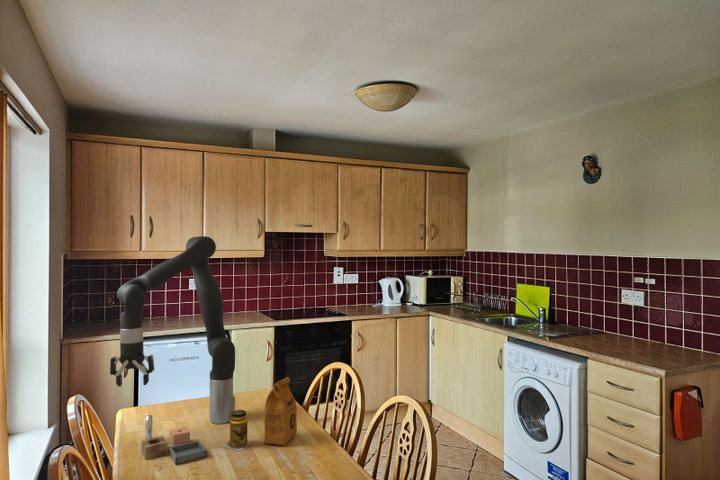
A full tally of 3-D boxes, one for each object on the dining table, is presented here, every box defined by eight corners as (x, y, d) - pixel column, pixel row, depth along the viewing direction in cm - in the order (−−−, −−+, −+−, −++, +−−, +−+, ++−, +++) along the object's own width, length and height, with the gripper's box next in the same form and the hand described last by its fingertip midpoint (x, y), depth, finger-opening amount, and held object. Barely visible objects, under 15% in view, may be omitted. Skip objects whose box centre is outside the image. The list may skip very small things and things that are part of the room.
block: (185, 440, 178) (185, 426, 178) (189, 445, 173) (189, 431, 173) (169, 443, 175) (170, 429, 175) (173, 449, 170) (173, 435, 170)
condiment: (241, 450, 170) (241, 416, 169) (220, 447, 172) (220, 413, 172) (252, 442, 176) (252, 409, 176) (232, 439, 179) (232, 406, 179)
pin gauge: (151, 441, 176) (151, 414, 176) (152, 444, 174) (152, 416, 174) (145, 443, 175) (145, 415, 175) (146, 445, 173) (146, 417, 173)
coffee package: (301, 435, 183) (301, 377, 182) (284, 449, 171) (284, 386, 171) (278, 431, 186) (278, 374, 186) (260, 444, 175) (260, 383, 174)
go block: (162, 446, 172) (162, 435, 172) (167, 454, 166) (167, 442, 166) (141, 451, 168) (141, 440, 168) (145, 459, 162) (145, 447, 162)
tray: (198, 447, 172) (198, 440, 172) (206, 457, 164) (206, 449, 164) (169, 454, 166) (169, 447, 166) (175, 464, 159) (175, 457, 159)
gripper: (155, 337, 178) (156, 381, 178) (114, 338, 176) (115, 383, 176) (149, 341, 170) (150, 387, 171) (106, 343, 168) (107, 389, 169)
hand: (132, 385), depth 174 cm, fingers open, 8 cm apart
